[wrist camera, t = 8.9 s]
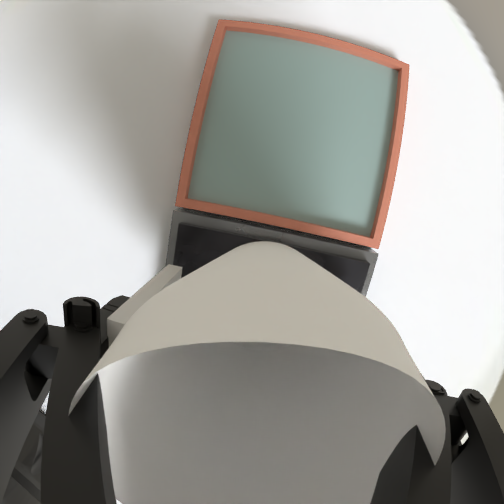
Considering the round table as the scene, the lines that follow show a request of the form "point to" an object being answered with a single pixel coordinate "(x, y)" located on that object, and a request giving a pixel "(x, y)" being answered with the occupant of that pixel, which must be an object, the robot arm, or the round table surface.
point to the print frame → (295, 132)
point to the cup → (259, 388)
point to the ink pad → (240, 232)
